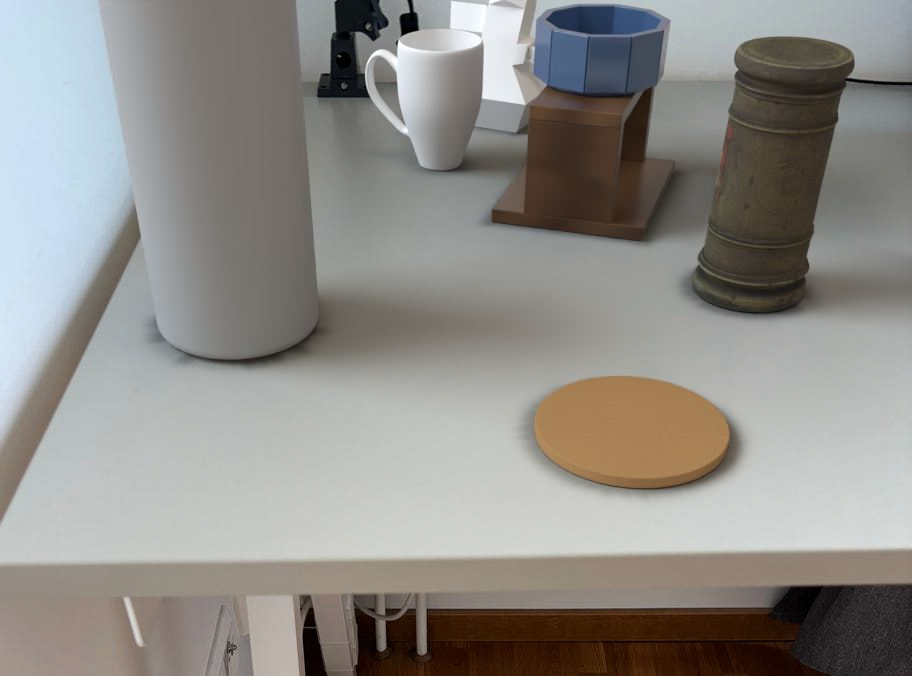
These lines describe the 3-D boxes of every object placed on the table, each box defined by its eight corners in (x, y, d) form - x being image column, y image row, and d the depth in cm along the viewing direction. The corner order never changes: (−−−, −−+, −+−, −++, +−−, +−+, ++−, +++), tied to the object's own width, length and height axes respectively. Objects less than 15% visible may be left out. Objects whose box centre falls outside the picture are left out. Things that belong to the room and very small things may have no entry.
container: (823, 289, 90) (885, 49, 78) (764, 325, 85) (820, 75, 73) (730, 257, 95) (775, 26, 82) (669, 289, 90) (707, 49, 78)
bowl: (670, 67, 101) (678, 8, 98) (648, 104, 93) (655, 42, 89) (552, 56, 103) (556, -1, 100) (520, 92, 95) (524, 31, 92)
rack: (673, 172, 110) (690, 59, 103) (641, 241, 97) (658, 117, 90) (539, 156, 113) (546, 46, 106) (491, 221, 100) (495, 101, 93)
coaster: (738, 402, 77) (740, 392, 76) (714, 504, 68) (716, 494, 67) (558, 373, 80) (559, 363, 79) (512, 467, 71) (512, 457, 70)
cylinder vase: (308, 366, 80) (275, -22, 63) (141, 362, 81) (64, -24, 64) (329, 291, 90) (305, -65, 73) (179, 288, 90) (120, -67, 73)
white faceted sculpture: (544, 141, 116) (554, -5, 107) (427, 122, 121) (427, -20, 112) (572, 118, 122) (583, -23, 113) (459, 101, 127) (461, -36, 117)
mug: (491, 155, 113) (495, 33, 106) (465, 182, 108) (467, 55, 100) (384, 141, 116) (381, 21, 109) (353, 167, 111) (347, 43, 103)
